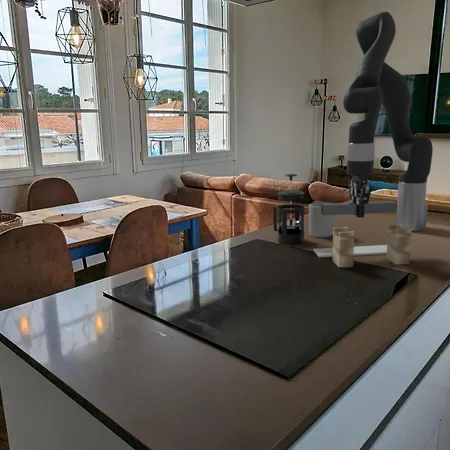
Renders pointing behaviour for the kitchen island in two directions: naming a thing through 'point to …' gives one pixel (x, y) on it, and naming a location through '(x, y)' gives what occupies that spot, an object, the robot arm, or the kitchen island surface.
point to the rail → (352, 208)
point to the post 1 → (343, 247)
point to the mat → (357, 251)
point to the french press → (290, 234)
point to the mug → (319, 221)
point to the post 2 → (398, 244)
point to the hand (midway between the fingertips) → (358, 215)
